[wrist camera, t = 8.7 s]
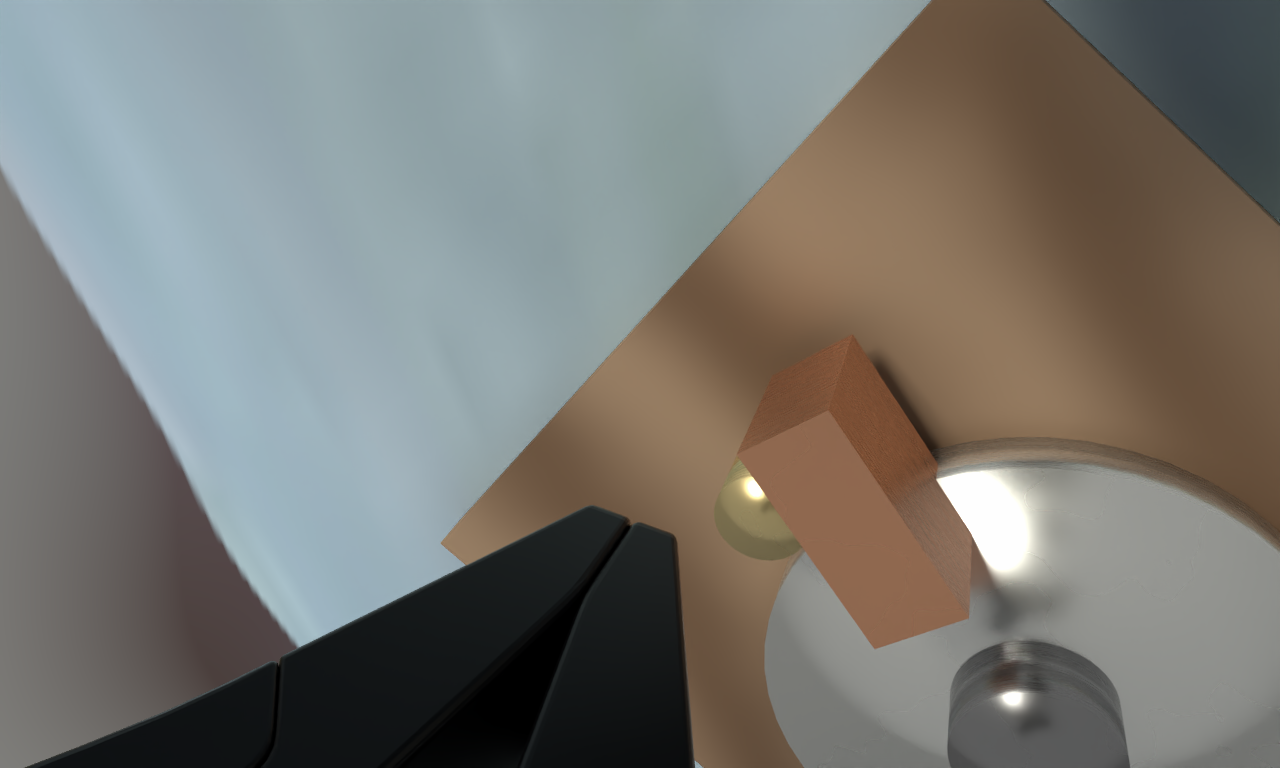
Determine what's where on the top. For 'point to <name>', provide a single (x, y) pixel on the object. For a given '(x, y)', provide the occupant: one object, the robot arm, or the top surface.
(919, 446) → the flange plate
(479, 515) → the base board
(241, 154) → the top surface
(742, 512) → the brass dowel
